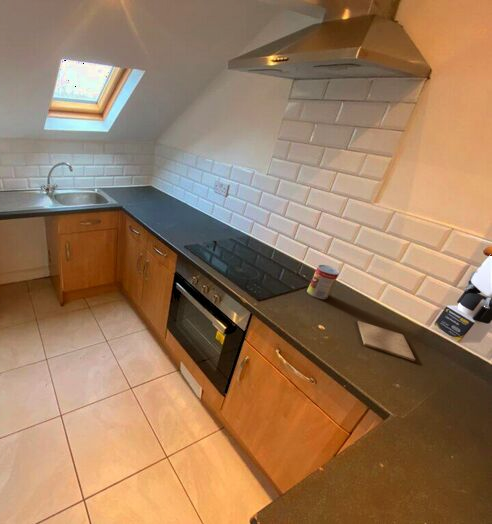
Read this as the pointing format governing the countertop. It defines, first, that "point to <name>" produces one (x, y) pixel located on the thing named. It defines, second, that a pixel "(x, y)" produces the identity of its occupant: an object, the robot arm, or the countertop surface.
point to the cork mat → (385, 340)
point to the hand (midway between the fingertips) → (471, 312)
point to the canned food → (322, 281)
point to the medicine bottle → (464, 320)
